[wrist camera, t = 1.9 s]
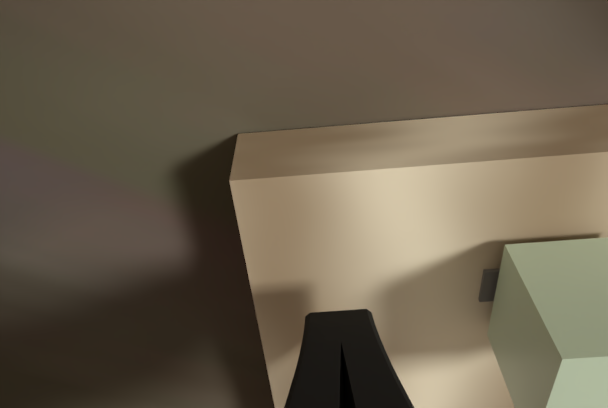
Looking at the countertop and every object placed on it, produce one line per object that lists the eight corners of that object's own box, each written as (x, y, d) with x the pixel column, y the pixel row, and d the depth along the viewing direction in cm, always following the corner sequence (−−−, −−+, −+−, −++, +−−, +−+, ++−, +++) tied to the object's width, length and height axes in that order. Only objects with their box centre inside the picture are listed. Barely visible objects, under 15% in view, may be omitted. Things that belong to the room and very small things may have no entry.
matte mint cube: (487, 334, 13) (531, 451, 11) (504, 244, 11) (562, 359, 9) (587, 328, 13) (655, 443, 10) (621, 236, 11) (712, 350, 9)
